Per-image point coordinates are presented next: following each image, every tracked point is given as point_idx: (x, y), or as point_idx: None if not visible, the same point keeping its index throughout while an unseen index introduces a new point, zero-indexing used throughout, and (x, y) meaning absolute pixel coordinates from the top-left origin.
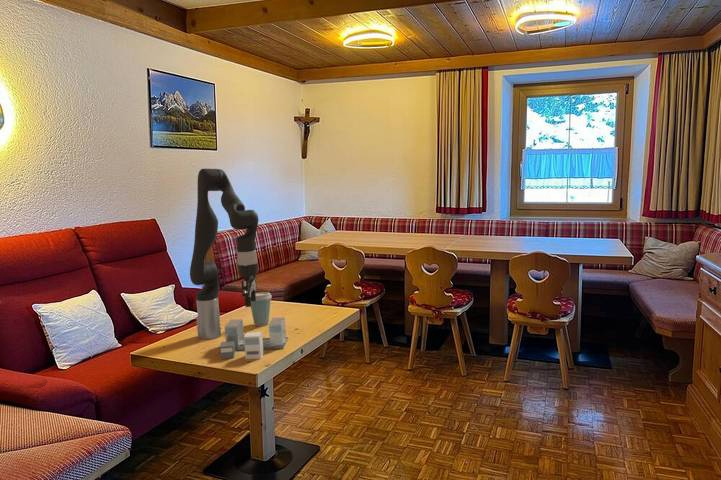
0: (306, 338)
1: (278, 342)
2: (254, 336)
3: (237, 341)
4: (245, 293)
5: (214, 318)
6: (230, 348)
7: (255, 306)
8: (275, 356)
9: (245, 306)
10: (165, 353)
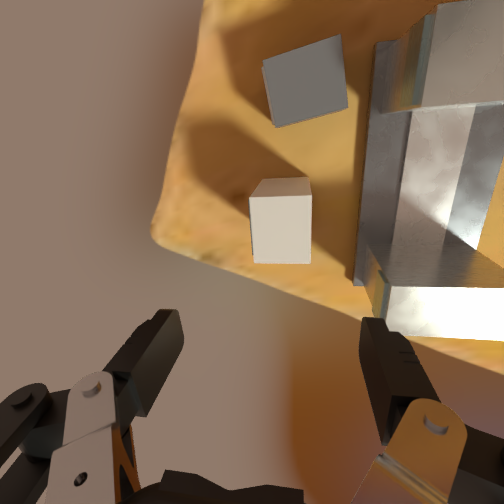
0: None
1: (366, 277)
2: (253, 243)
3: (390, 109)
4: (19, 444)
5: None
6: (271, 116)
7: None
8: (281, 268)
9: (160, 309)
10: None
